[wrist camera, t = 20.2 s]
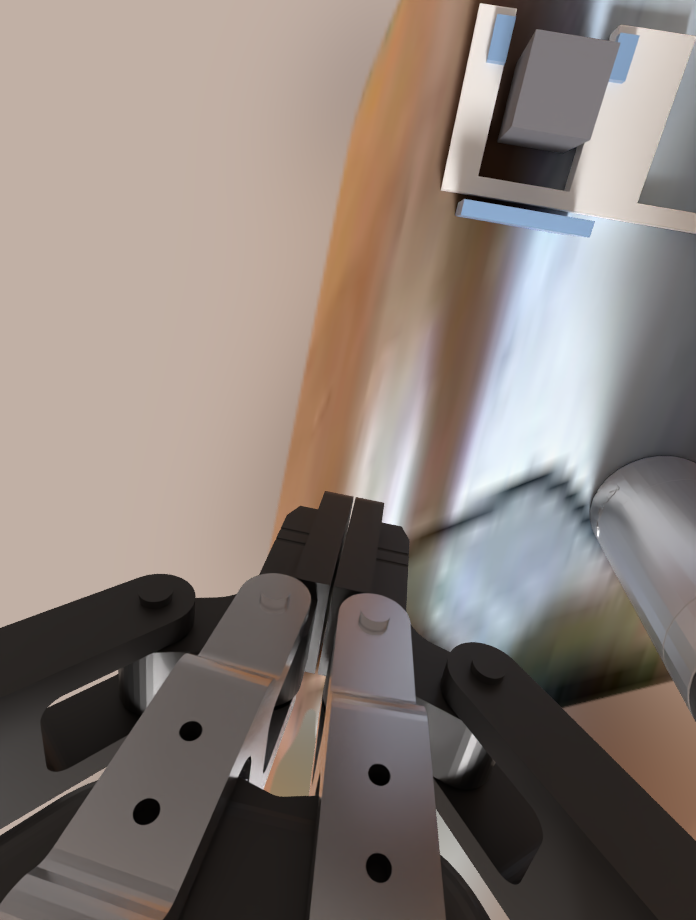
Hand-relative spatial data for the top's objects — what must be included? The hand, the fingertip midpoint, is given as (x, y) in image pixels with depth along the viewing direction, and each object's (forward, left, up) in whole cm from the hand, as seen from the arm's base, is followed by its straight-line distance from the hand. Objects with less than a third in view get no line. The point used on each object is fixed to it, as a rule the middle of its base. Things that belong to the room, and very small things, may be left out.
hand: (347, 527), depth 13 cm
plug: (-6, -14, -27) cm, 31 cm away
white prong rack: (-11, -13, -27) cm, 32 cm away
